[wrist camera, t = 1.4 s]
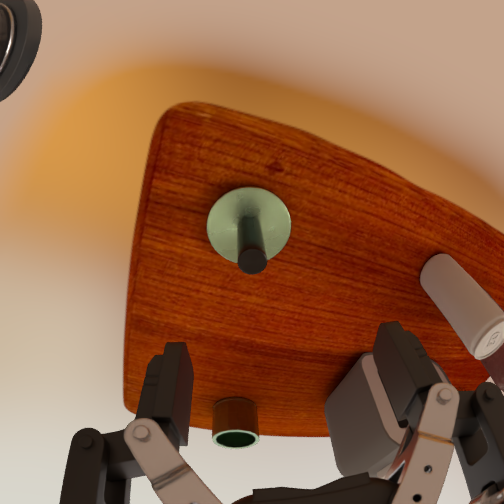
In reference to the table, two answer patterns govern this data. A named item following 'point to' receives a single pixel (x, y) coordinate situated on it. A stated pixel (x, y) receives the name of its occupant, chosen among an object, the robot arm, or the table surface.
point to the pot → (235, 423)
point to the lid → (249, 227)
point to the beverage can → (464, 305)
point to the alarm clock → (365, 421)
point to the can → (495, 363)
